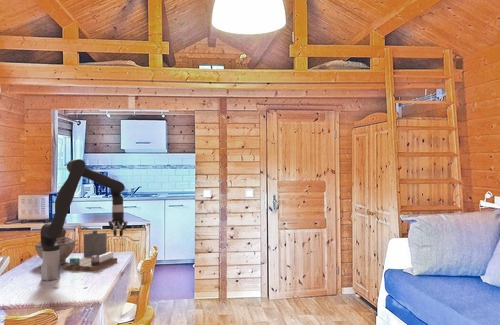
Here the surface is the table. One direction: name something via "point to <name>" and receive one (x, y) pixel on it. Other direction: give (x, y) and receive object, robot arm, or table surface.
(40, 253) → the ceramic pot
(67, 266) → the lock board
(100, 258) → the bar
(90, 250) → the hip flask
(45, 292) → the table surface
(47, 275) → the robot arm
